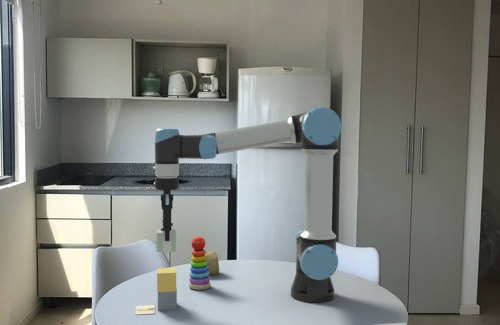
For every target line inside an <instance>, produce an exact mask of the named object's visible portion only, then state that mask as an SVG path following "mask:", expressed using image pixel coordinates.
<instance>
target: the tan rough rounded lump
mask: <svg viewBox="0 0 500 325" xmlns="http://www.w3.org/2000/svg"><path fill="white" fill-rule="evenodd" d="M205 256H206V257H207V259H206V261H207V266H208V272H209V276H212V275H213V276H214V275H220V265H219V264H220V263H219V262H220V260H219V257H218V254H217V251H216V250H211V251H209V252H206V253H205Z"/></svg>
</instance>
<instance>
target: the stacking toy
mask: <svg viewBox="0 0 500 325" xmlns="http://www.w3.org/2000/svg"><path fill="white" fill-rule="evenodd" d="M190 244H191V246H192V251H191V255H192V256H191V262H190V269H189V270H190V272H189V279H188V280H189V283H188V286H189V288H190V289H191V290H196V291H201V290H207V289H209V288H210V287H211V282H210V281H211V278H210V275H209V272H208V266H207V261H206V259H207V257H206V256H205V253H207V252H206V250H205V249H204V248H206V247H205V246H206V240H205V238H204V237H202V236H195V237H193V238H192V240H191V243H190Z"/></svg>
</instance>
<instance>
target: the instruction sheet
mask: <svg viewBox="0 0 500 325" xmlns="http://www.w3.org/2000/svg"><path fill="white" fill-rule="evenodd" d="M155 313H156V305H155V304H151V305H147V304H146V305H136V306H135V312H134V315H135V316H137V315H138V316H139V315H140V316H142V315H144V316H145V315H155Z"/></svg>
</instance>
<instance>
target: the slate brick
mask: <svg viewBox="0 0 500 325" xmlns="http://www.w3.org/2000/svg"><path fill="white" fill-rule="evenodd" d="M177 290H178V289H177V288H176V291H173V292H157V311H173V310H174V311H175V309H178V296H177V295H178V291H177Z"/></svg>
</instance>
